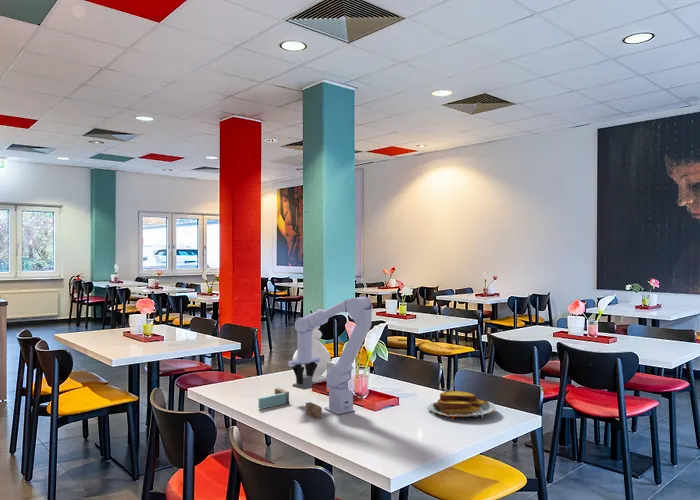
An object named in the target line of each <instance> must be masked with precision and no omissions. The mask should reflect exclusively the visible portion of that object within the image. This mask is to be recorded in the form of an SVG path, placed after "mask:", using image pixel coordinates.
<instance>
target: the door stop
mask: <svg viewBox="0 0 700 500" xmlns="http://www.w3.org/2000/svg"><path fill="white" fill-rule="evenodd" d="M295 381H296V383H292V387H293V388H297V389H301V390H308V389H309V390H310V389H313V382H312V376H308V375H303V382H302V384H298V383H297V379H296V378H295Z"/></svg>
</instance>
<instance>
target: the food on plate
mask: <svg viewBox="0 0 700 500" xmlns="http://www.w3.org/2000/svg"><path fill="white" fill-rule="evenodd" d="M497 407H498V406H496V404H495V403H493V402H490V401H487V400H483V399H478V398H477V397H476V395H475V393H471V392H468V391H460V390H458V391H457V390H450V391H443V392H441V393H440V394H439V399H438V400H437V401H435V402H432V403H431V404H429V405H428V406H427V410H428V411H431V412H433V413H436V414H439V415H440V416H446V417H449V418H450V417H451V421H455V418H468V417H476V418H478V417H479V416H481V418H484V416H485V415H488V414H493V412H495V411H496V409H497Z"/></svg>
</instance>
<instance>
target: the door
mask: <svg viewBox="0 0 700 500" xmlns="http://www.w3.org/2000/svg"><path fill="white" fill-rule="evenodd" d="M289 403H290V391H287V392H285V393H281V394H276V395H275V394H272V395H267V396H262V397H258V409H259V410H262V409H266V408H269V407H274V406H278V405H279V406H280V405H284V404H289Z"/></svg>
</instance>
